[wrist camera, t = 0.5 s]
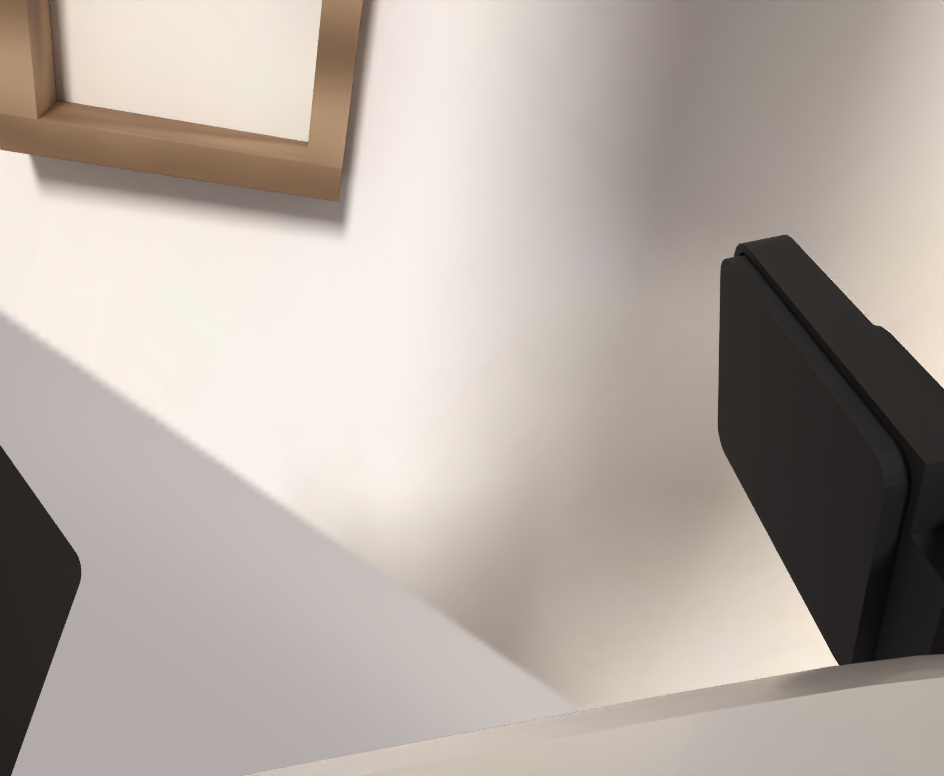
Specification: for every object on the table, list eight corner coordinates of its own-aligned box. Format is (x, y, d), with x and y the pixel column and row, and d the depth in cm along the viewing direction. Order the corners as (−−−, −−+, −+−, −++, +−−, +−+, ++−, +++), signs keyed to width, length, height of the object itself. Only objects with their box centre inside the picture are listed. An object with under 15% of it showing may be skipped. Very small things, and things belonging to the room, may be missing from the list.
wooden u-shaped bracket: (-15, -213, 28) (-45, -214, 26) (376, -120, 31) (377, -114, 29) (21, 128, 35) (0, 149, 33) (339, 179, 37) (338, 201, 35)
